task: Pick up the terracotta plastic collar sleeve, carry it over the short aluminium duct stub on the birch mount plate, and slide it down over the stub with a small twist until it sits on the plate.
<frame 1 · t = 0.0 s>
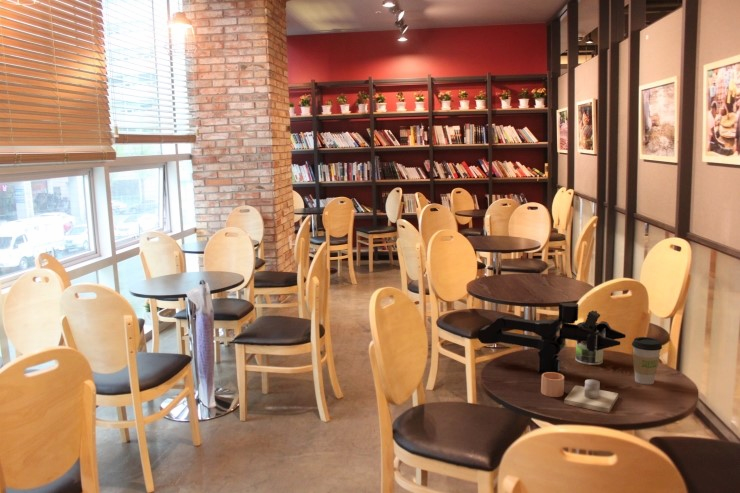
hand: (622, 339, 222), 17 cm above the table, tool horizontal, fingers open, 9 cm apart
coffee can: (589, 360, 250), on the table
coffee cup: (644, 381, 228), on the table
duct mount: (591, 400, 212), on the table
collar sleeve: (552, 392, 219), on the table
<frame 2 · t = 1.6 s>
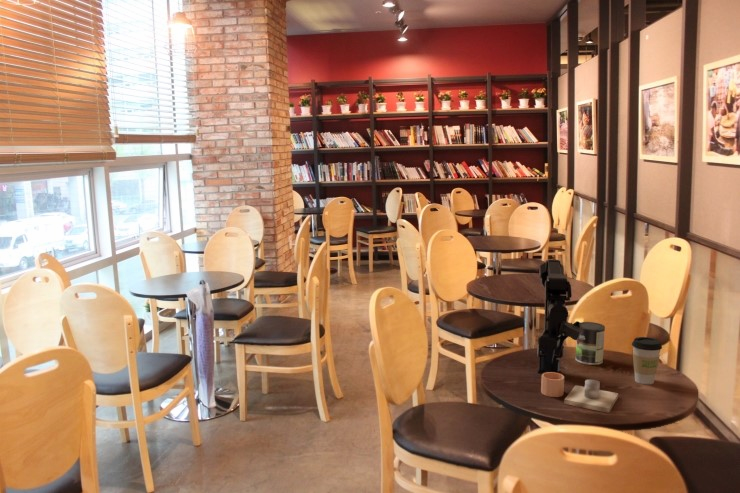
hand: (554, 359, 217), 12 cm above the table, tool pointing down, fingers open, 9 cm apart
nothing on the table moved.
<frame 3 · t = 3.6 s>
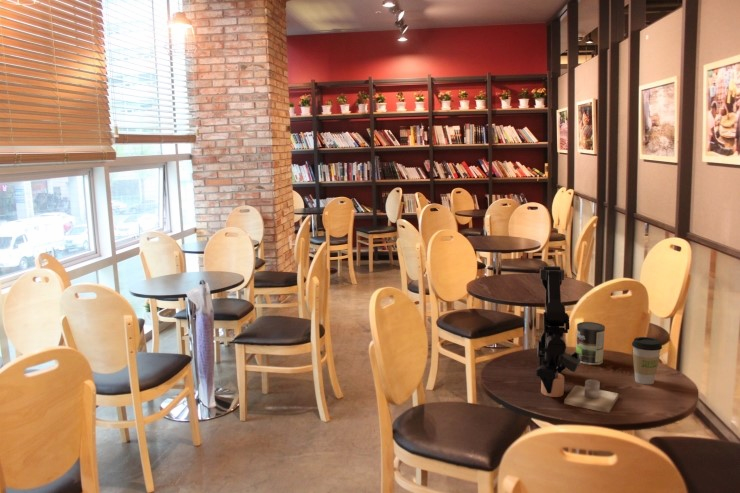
hand: (552, 389, 219), 1 cm above the table, tool pointing down, fingers closed on collar sleeve, 7 cm apart
collar sleeve: (552, 392, 219), on the table, touching gripper
everything else where it was.
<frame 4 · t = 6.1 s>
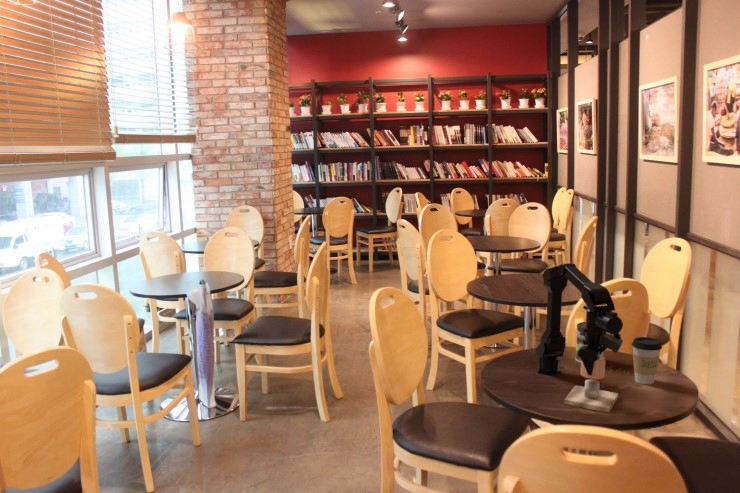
hand: (592, 371, 211), 10 cm above the table, tool pointing down, fingers closed on collar sleeve, 7 cm apart
collar sleeve: (592, 374, 211), point 9 cm above the table, touching gripper
everything else where it was.
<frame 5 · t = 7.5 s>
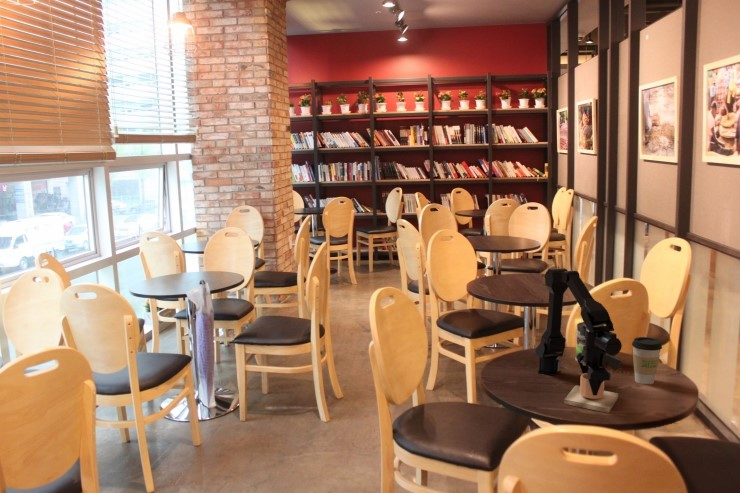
hand: (591, 390, 212), 3 cm above the table, tool pointing down, fingers closed on collar sleeve, 7 cm apart
collar sleeve: (591, 394, 212), point 2 cm above the table, touching gripper
everything else where it was.
when the fingers open (3 cm above the table, at t = 8.6 s): collar sleeve stays where it is, resting on duct mount.
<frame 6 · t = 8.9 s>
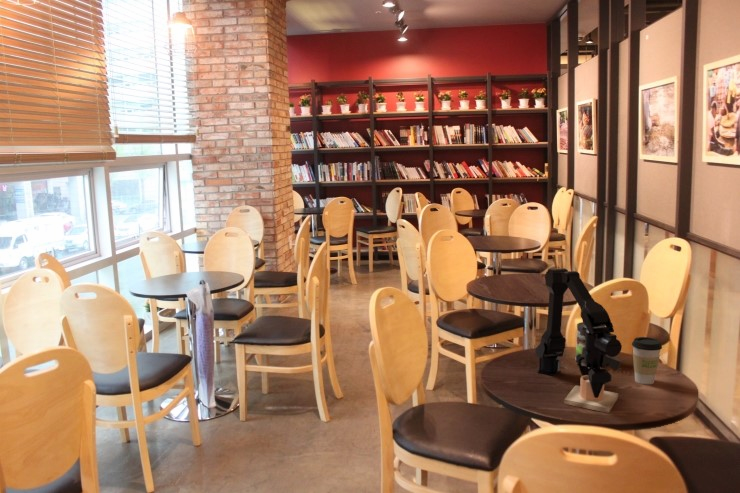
hand: (591, 392, 212), 3 cm above the table, tool pointing down, fingers open, 9 cm apart
collar sleeve: (591, 396, 212), point 1 cm above the table, touching duct mount
everything else where it was.
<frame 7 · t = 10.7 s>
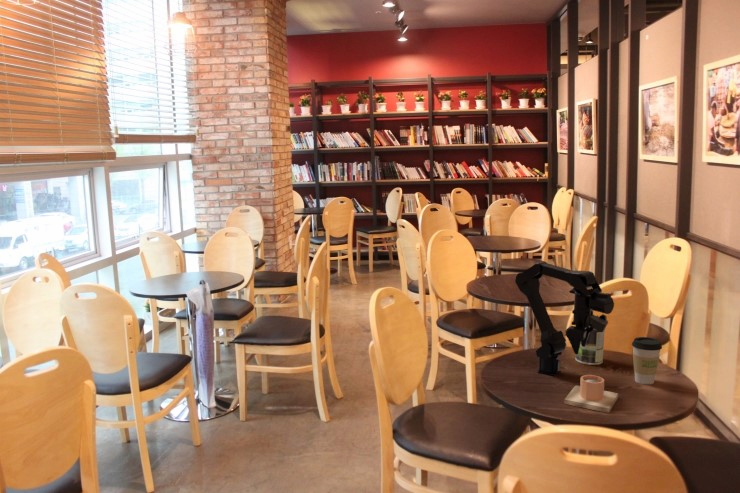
hand: (580, 350, 226), 12 cm above the table, tool pointing down, fingers open, 9 cm apart
nothing on the table moved.
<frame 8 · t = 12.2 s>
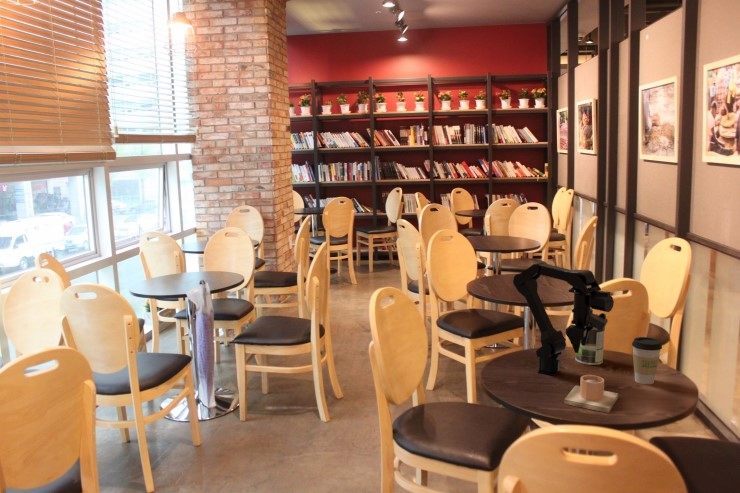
hand: (580, 349, 227), 12 cm above the table, tool pointing down, fingers open, 9 cm apart
nothing on the table moved.
at the end: collar sleeve 0.0 cm off-centre on the duct mount, point 1.5 cm above the duct mount's base; collar sleeve tilted 0°; the gripper is holding nothing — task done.
